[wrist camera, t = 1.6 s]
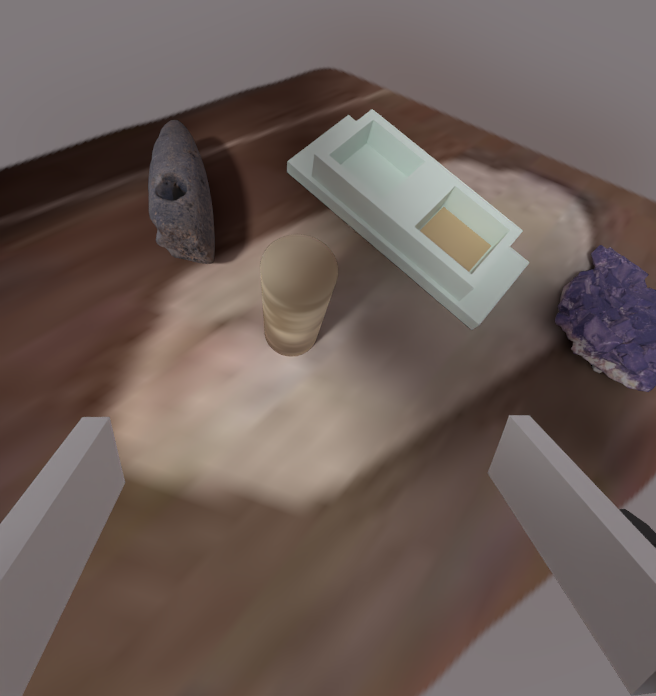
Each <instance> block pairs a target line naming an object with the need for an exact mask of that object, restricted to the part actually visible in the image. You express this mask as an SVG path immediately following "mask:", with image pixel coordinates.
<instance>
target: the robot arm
mask: <svg viewBox="0 0 656 696" xmlns="http://www.w3.org/2000/svg"><path fill="white" fill-rule="evenodd" d="M488 474H489V476H490V477H491V479H492V480H493V482H494V484H495V485H496V487H497V488H498V490H499V491H500V493H501V494H502V496H503V498H504V499H505V501H506V502H507V504H508V505H509V507H510V508H511V510H512V512H513V513H514V515H515V516H516V518H517V519H518V521H519V522H520V524H521V525H522V527H523V529H524V530H525V532H526V533H527V535H528V536H529V538H530V539H531V541H532V543H533V544H534V546H535V547H536V549H537V550H538V552H539V553H540V555H541V557H542V558H543V560H544V561H545V563H546V564H547V566H548V567H549V569H550V570H551V572H552V574H553V575H554V577H555V578H556V580H557V581H558V583H559V584H560V586H561V588H562V589H563V591H564V592H565V594H566V595H567V597H568V598H569V600H570V601H571V603H572V605H573V606H574V608H575V609H576V611H577V612H578V614H579V615H580V617H581V619H582V620H583V622H584V623H585V625H586V626H587V628H588V629H589V631H590V632H591V634H592V636H593V637H594V639H595V640H596V642H597V643H598V645H599V646H600V648H601V650H602V651H603V653H604V654H605V656H606V657H607V659H608V660H609V662H610V663H611V665H612V667H613V668H614V670H615V671H616V673H617V674H618V676H619V678H620V679H621V680H622V682H623V684H624V685H625V687H626V688H627V690H628V691H629V693H630V695H641V694H649V693H656V533H655V532H654V531H653V530H652V529H651V528H650V527H649V526H648V525H647V524H646V523H644V522H643V521H642V520H640V519H639V518H637V517H636V516H634V515H633V514H632V513H630V512H629V511H627V510H626V509H618V508H617V507H616V506H615V505H614V504H613V503H612V502H611V501H610V500H609V499H608V498H607V497H606V496H605V495H604V494H603V492H602V491H601V490H600V489H599V488H598V487H597V486H596V485H595V484H594V483H593V482H592V481H591V480H590V479H589V478H588V477H587V476H586V475H585V474H584V472H583V471H582V470H581V469H580V468H579V467H578V466H577V465H576V464H575V463H574V462H573V461H572V460H571V459H570V458H569V457H568V456H567V455H566V453H565V452H564V451H563V450H562V449H561V448H560V447H559V446H558V445H557V444H556V443H555V442H554V441H553V440H552V439H551V438H550V437H549V436H548V434H547V433H546V432H545V431H544V430H543V429H542V428H541V427H540V426H539V425H538V424H537V423H536V422H535V421H534V420H533V419H532V418H531V417H530V416H529V415H509V417H508V420H507V423H506V425H505V428H504V431H503V434H502V436H501V439H500V442H499V444H498V447H497V450H496V452H495V455H494V458H493V460H492V463H491V466H490V468H489V471H488ZM124 484H125V480H124V476H123V472H122V467H121V463H120V459H119V455H118V451H117V446H116V442H115V438H114V434H113V429H112V425H111V421H110V417H82V418H81V420H80V421H79V422H78V424H77V425H76V426H75V428H74V429H73V430H72V431H71V433H70V434H69V435H68V437H67V438H66V439H65V441H64V442H63V443H62V445H61V446H60V447H59V448H58V450H57V451H56V452H55V454H54V455H53V456H52V458H51V459H50V460H49V461H48V463H47V464H46V465H45V467H44V468H43V469H42V471H41V472H40V473H39V474H38V476H37V477H36V478H35V480H34V481H33V482H32V484H31V485H30V486H29V487H28V489H27V490H26V491H25V493H24V494H23V495H22V497H21V498H20V499H19V500H18V502H17V503H16V504H15V506H14V507H13V508H12V510H11V511H10V512H9V514H8V515H7V516H6V517H5V519H4V520H3V521H2V523H1V524H0V696H22V695H23V693H24V690H25V688H26V686H27V684H28V682H29V680H30V678H31V676H32V674H33V672H34V670H35V668H36V666H37V664H38V662H39V659H40V657H41V655H42V653H43V651H44V649H45V647H46V645H47V643H48V641H49V639H50V637H51V635H52V633H53V631H54V628H55V626H56V624H57V622H58V620H59V618H60V616H61V614H62V612H63V610H64V608H65V606H66V604H67V602H68V600H69V597H70V595H71V593H72V591H73V589H74V587H75V585H76V583H77V581H78V579H79V577H80V575H81V573H82V571H83V569H84V566H85V564H86V562H87V560H88V558H89V556H90V554H91V552H92V550H93V548H94V546H95V544H96V542H97V540H98V538H99V535H100V533H101V531H102V529H103V527H104V525H105V523H106V521H107V519H108V517H109V515H110V513H111V511H112V509H113V507H114V504H115V502H116V500H117V498H118V496H119V494H120V492H121V490H122V488H123V486H124Z"/></svg>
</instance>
